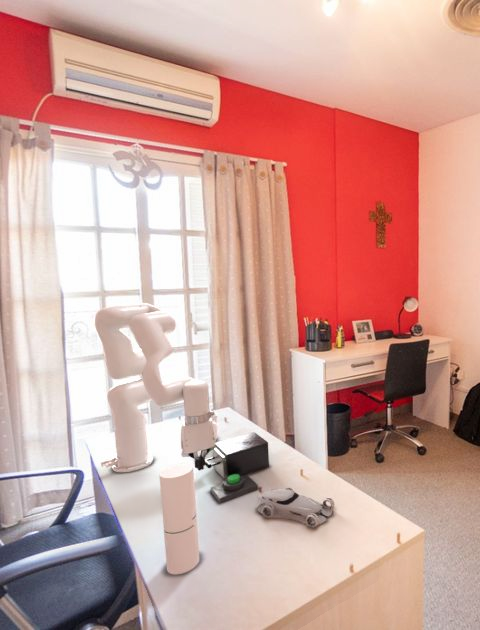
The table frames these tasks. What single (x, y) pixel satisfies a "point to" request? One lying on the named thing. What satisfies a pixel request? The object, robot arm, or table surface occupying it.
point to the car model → (294, 507)
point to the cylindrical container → (179, 518)
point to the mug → (215, 424)
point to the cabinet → (245, 454)
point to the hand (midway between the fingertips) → (200, 468)
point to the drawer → (218, 462)
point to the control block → (233, 488)
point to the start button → (233, 479)
